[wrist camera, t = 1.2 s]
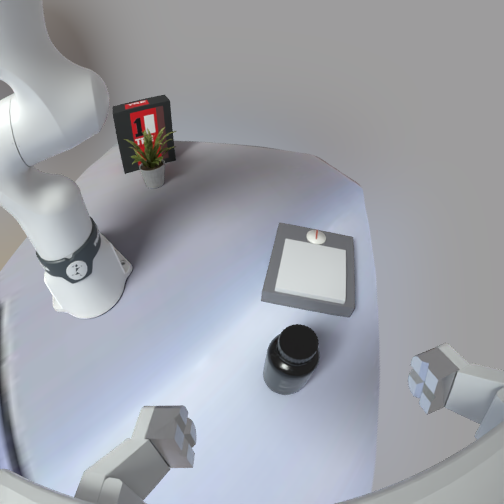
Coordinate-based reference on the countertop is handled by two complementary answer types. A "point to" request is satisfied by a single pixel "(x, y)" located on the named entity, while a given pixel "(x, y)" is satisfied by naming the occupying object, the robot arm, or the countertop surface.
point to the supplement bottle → (291, 359)
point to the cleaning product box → (143, 128)
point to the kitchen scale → (311, 271)
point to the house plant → (151, 159)
